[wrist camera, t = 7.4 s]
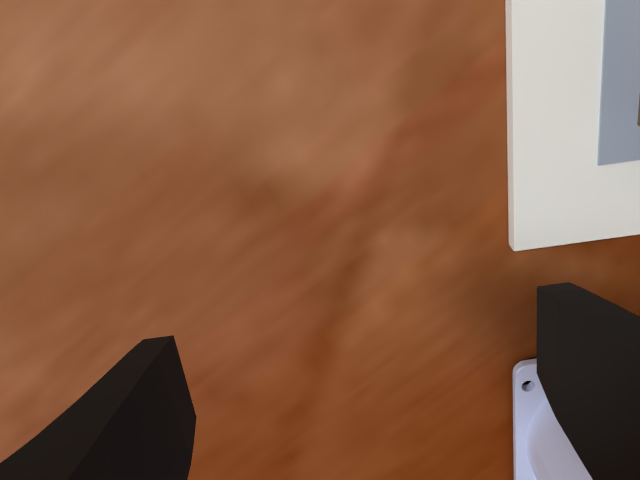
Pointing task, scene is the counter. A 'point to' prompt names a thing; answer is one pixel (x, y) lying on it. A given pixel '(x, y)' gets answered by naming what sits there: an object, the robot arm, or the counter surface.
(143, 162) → the counter surface
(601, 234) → the white square board
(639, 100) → the walnut block
